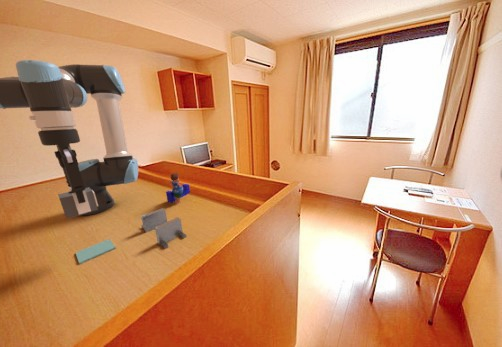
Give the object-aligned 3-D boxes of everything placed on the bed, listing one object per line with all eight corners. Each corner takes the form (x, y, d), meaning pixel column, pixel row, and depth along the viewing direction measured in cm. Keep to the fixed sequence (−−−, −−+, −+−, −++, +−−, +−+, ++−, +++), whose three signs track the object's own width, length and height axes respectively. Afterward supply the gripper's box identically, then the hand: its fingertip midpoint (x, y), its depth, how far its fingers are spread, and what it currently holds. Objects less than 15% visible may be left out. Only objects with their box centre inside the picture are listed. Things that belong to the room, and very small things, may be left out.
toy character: (191, 204, 92) (187, 173, 88) (182, 208, 89) (177, 176, 85) (177, 198, 100) (173, 169, 96) (168, 201, 97) (163, 172, 92)
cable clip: (184, 193, 106) (182, 183, 104) (190, 195, 104) (188, 184, 102) (165, 202, 96) (163, 191, 94) (172, 204, 94) (170, 192, 92)
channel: (141, 227, 74) (138, 213, 72) (162, 219, 80) (159, 205, 78) (164, 249, 61) (160, 232, 60) (187, 237, 67) (184, 221, 65)
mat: (75, 253, 61) (75, 252, 61) (109, 240, 67) (109, 238, 67) (79, 264, 56) (79, 262, 56) (115, 248, 63) (115, 247, 63)
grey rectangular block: (64, 213, 57) (57, 194, 55) (96, 204, 62) (90, 186, 60) (66, 219, 53) (59, 198, 52) (99, 209, 59) (94, 190, 57)
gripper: (36, 129, 54) (62, 205, 61) (38, 130, 43) (70, 225, 49) (71, 127, 60) (92, 198, 66) (82, 128, 48) (106, 213, 54)
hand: (83, 209), depth 58 cm, fingers closed on grey rectangular block, 5 cm apart
